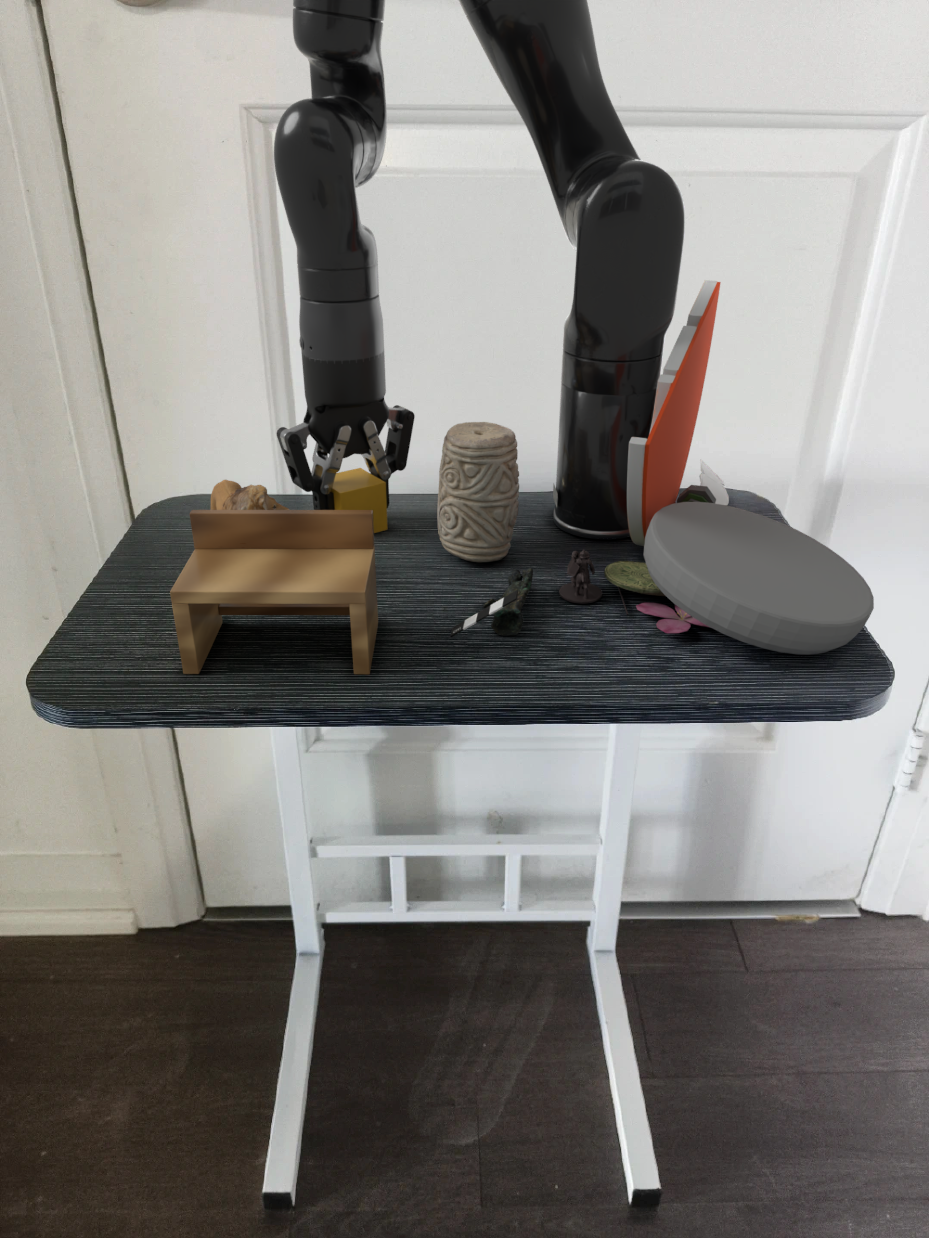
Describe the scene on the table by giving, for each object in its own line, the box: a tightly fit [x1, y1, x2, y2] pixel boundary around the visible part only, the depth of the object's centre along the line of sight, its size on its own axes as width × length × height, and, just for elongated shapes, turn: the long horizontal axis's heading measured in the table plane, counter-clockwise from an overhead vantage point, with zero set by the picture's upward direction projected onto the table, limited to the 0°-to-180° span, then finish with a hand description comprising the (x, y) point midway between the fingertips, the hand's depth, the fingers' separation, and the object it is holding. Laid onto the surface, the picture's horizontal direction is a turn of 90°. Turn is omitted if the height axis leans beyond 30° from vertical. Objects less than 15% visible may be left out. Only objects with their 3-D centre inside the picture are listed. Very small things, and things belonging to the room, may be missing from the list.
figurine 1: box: [449, 567, 534, 638], centre depth 79 cm, size 6×4×12 cm
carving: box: [436, 421, 520, 563], centre depth 88 cm, size 6×8×12 cm
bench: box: [169, 509, 379, 675], centre depth 73 cm, size 14×8×10 cm, turn 90°
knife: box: [676, 459, 730, 506], centre depth 98 cm, size 22×4×5 cm
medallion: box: [603, 560, 666, 597], centre depth 84 cm, size 8×8×1 cm
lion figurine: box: [210, 479, 290, 510], centre depth 88 cm, size 15×5×9 cm, turn 34°
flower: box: [635, 602, 712, 634], centre depth 79 cm, size 8×8×1 cm
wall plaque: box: [627, 279, 721, 547], centre depth 91 cm, size 19×2×30 cm
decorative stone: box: [643, 502, 875, 655], centre depth 78 cm, size 18×18×5 cm
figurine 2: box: [558, 548, 629, 616], centre depth 83 cm, size 5×8×4 cm
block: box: [331, 467, 389, 534], centre depth 95 cm, size 5×5×5 cm
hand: (353, 518), depth 96 cm, fingers closed on block, 5 cm apart
